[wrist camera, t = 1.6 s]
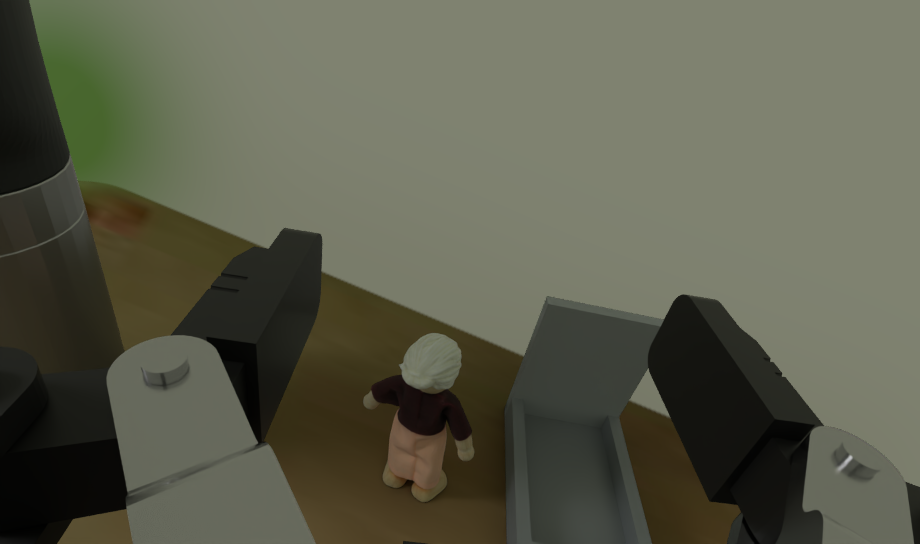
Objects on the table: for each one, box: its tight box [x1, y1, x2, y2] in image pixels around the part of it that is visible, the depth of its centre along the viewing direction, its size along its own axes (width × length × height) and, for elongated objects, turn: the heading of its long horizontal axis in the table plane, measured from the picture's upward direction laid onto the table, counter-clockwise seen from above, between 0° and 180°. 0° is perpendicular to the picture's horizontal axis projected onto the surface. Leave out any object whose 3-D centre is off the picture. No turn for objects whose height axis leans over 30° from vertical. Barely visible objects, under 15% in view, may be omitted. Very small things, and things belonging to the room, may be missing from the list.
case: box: [505, 296, 664, 544], centre depth 31 cm, size 9×13×12 cm
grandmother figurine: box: [363, 333, 474, 502], centre depth 30 cm, size 8×4×13 cm, turn 78°
